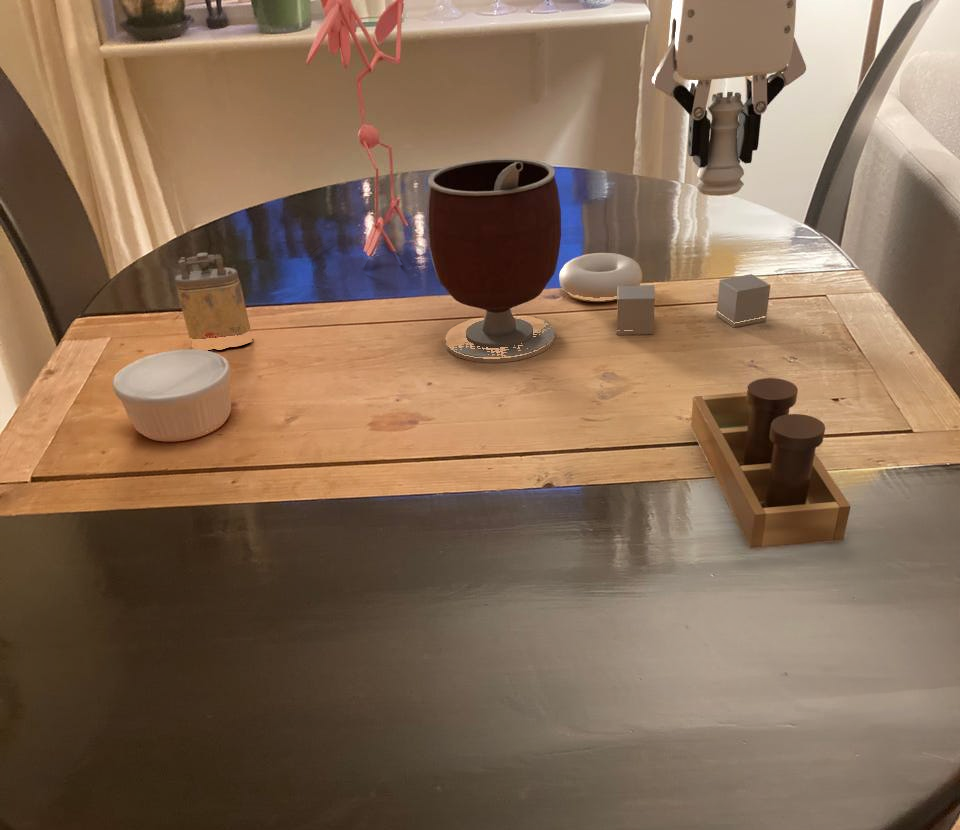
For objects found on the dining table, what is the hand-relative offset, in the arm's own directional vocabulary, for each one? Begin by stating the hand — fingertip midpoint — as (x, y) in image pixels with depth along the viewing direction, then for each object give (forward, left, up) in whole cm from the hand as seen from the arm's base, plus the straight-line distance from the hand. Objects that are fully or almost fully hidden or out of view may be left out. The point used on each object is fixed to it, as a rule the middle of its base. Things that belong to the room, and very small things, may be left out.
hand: (721, 159), depth 89 cm
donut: (+8, -20, -19) cm, 28 cm away
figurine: (+38, -41, -19) cm, 59 cm away
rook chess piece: (0, 0, -3) cm, 3 cm away
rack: (+2, +27, -19) cm, 33 cm away
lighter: (+53, -13, -19) cm, 58 cm away
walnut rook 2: (+2, +33, -18) cm, 38 cm away
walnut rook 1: (+2, +27, -18) cm, 33 cm away
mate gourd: (+21, -7, -19) cm, 29 cm away
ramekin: (+54, +6, -19) cm, 58 cm away
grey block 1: (+6, -8, -19) cm, 21 cm away
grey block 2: (-6, -8, -19) cm, 21 cm away
